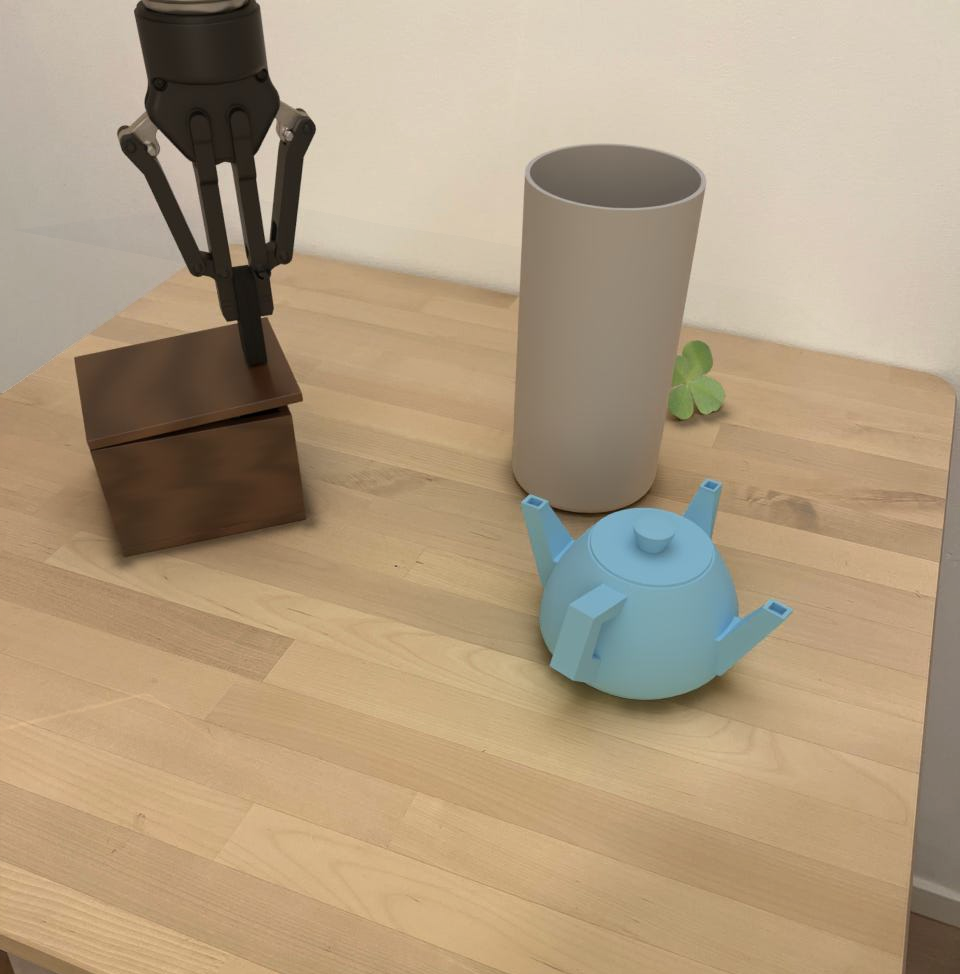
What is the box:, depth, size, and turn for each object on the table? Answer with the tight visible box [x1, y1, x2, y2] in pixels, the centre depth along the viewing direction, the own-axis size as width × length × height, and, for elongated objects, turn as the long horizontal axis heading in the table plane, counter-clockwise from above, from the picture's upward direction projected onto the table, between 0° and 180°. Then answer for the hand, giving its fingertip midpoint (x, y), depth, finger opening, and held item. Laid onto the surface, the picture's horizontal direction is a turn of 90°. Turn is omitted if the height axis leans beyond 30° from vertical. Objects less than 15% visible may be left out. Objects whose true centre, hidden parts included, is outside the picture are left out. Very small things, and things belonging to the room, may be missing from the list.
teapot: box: [520, 477, 794, 701], centre depth 66 cm, size 15×15×11 cm
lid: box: [73, 316, 304, 451], centre depth 74 cm, size 16×13×1 cm
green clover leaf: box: [667, 339, 726, 420], centre depth 93 cm, size 7×8×7 cm
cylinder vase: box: [511, 143, 707, 514], centre depth 76 cm, size 12×12×25 cm
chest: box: [89, 405, 307, 557], centre depth 78 cm, size 15×13×10 cm
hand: (254, 355), depth 75 cm, fingers closed
